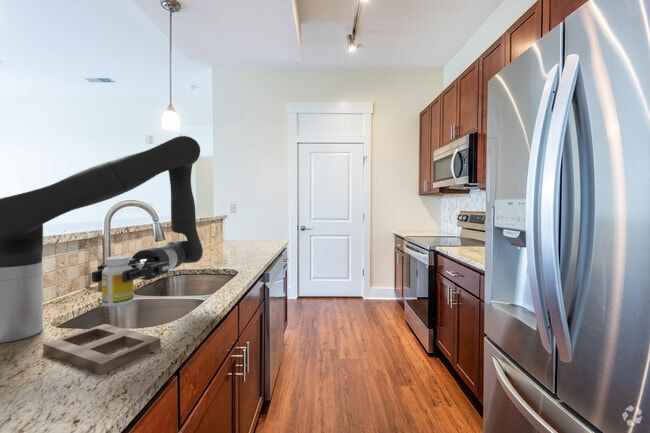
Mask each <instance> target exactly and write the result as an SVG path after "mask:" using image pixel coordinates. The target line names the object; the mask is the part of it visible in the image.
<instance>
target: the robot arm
mask: <svg viewBox="0 0 650 433" xmlns="http://www.w3.org/2000/svg"><path fill="white" fill-rule="evenodd" d="M200 155H201V147H200V144H199V143H198V141H197V140H196V139H194V138H193V137H191V136H187V135H177V136H174V137H172V138H170V139H168V140H166V141H164V142H162V143H160V144H157V145H156V146H153V147H151V148H148V149H146V150H143V151H139V152H135V153H132V154H128V155H124V156H122V157H121V156H120V157H119V158H115V159H111V160H108V161H105V162H103V163H100V164H97V165H94V166H91V167H89V168H87V169H84V170H82V171H81V170H80V171H79V172H77V173H74V174H72V175H69V176H67V177H66V178H63V179H60V180H59V181H57V182H54V183H52V184H49V185H47V186H43V187H39V188H37V189H33V190H29V191H26V192H22V193H18V194H13V195H9V196H5V197H1V198H0V343H1V344H3V343H10V342H15V341H20V340H23V339H26V338H29V337H33V336H36V335H37V334H39V333H42V332H43V330H44V316H43V315H44V312H43V310H44V305H43V302H44V301H43V300H44V298H43V293H44V292H43V291H44V290H43V289H44V288H43V249H44V224H45V223H47V222H50V221H52V220H54V219H56V218H58V217H59V216H62V215H64V214H66V213H69V212H72V211H74V210H79V209H81V208H84V207H88V206H93V205H96V204H98V203H102V202H104V201H108V200H110V199H113V198H116V197H119V196H120V195H124V194H125V193H128V192H129V191H132V190H134V189H136V188H138V187H139V186H141V185H143V184H145V183H146V182H148V181H150V180H151V179H153V178H154V177H157V176H159V175H160V174H162V173H165V172H168V177H169V184H170V222H171V223H170V225H171V227H170V228H171V231H172V233H175V234H181V235H183V236H185V238H186V240H174V241H169V242H167V243H166V244H165V245H157V246H153V247H149V248H146V249H141V250H138V251H137V252H136V253H135V254H134V255H133V256H132V257H131V258H129V261H130V262H129V263H128V266H131V267H132V268H133V269H130V270H127V271H124V272H123V273H122V281H123V282H129V281H132V280H133V281H134V280H138V279H139V280H142V281H150V280H154V279H156V278H157V277H160V276H162V275H164V274H167V273H169V272H170V271H171V270H174V269H176V268H178V267H180V266H181V265H182V264H194V263H198V262H199V261H200V260H201V258H202V257H203V254H204V253H203V252H204V251H203V246H202V243H201V239H200V237H199V232H198V230H197V222H196V218H197V216H196V215H197V213H196V212H197V211H196V205H195V204H196V203H195V199H194V198H195V197H194V195H193V189H192V188H193V187H192V169H193V165H194V164H195V163H197V161H198V160H199V158H200ZM107 267H108V266H107V265H106V263H103V264H101V265H99V266H97V267H96V268H97V270H95V271H92V272H91V281H92V283H99V282H102V271H103V270H104V269H105V268H107Z"/></svg>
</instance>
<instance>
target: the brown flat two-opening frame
mask: <svg viewBox="0 0 650 433" xmlns="http://www.w3.org/2000/svg"><path fill="white" fill-rule="evenodd" d="M94 338H95V339H96V338H99V339H97V340H95V341H92V342H91V341H90V342H89V343H86V344H83V345H78V344H81V343H83V342H87V341H89V340H92V339H94ZM42 344H43V345H42V346H43V347H42V348H43V354H45V355H48V356H51V357H53V358H56V359H58V360H62V361H63V362H67V363H70V364H71V365H74V366H76V367H80V368H82V369H85V370H88V371H90V372H93V373H96V374H98V375H100V376H101V375H104V374H106V373H108V372H110V371H112V370H115V369H117V368H118V367H121V366H123V365H125V364H127V363H129V362H131V361H134V360H136V359H138V358H141V357H142V356H144V355H147V354H149V353H151V352H154V351H155V350H157V349H160V348H161V346H162V345H161V337H158V336H153V335H151V334H150V335H149V334H145V333H142V332H137V331H135V330H130V329H127V328H123V327H119V326H115V325H112V324H107V323H102V324H101V325H97V326H93V327H90V328H88V329H85V330H81V331H78V332H75V333H72V334H69V335H66V336H63V337H61V338H57V339H54V340H50V341H47V342H44V343H42ZM124 345H125V346H128V347H129V348H127V349H125V350H122V351H120V352H117V353H114V354H112V355H108V354H105V353H107V352H109V351H112V350H114V349H118V348H119V347H122V346H124Z"/></svg>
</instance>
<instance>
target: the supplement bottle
mask: <svg viewBox="0 0 650 433" xmlns="http://www.w3.org/2000/svg"><path fill="white" fill-rule="evenodd" d="M129 259H130V256H128V255H117V256H109V257H106V258H105V264H106V265H107V266H108V267H107V268H105V269H104V270H103V271H102V281H101V303H102V305H103V307H111V308H112V307H119V306H124V305H127V304H130V303H132V302H133V300H134V280H132V281H129V282H123V281H122V273H123V272H124V271H127V270H130V269H133V268H132V267H131V266H128V263H129V262H130V261H129Z"/></svg>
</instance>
